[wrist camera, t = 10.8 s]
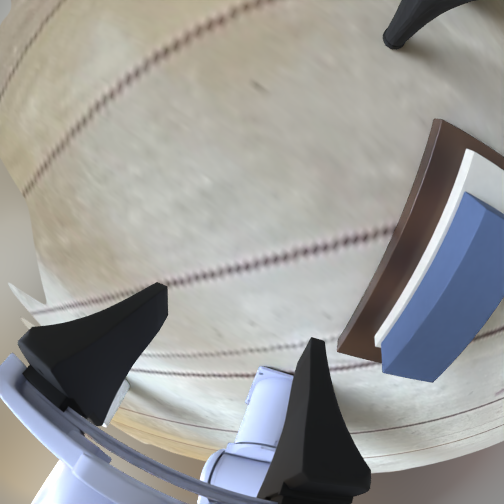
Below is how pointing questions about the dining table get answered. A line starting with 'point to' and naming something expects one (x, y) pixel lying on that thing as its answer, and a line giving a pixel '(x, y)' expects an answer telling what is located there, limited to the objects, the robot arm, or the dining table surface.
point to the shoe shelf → (411, 235)
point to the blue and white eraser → (451, 279)
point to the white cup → (116, 402)
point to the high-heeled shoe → (415, 18)
